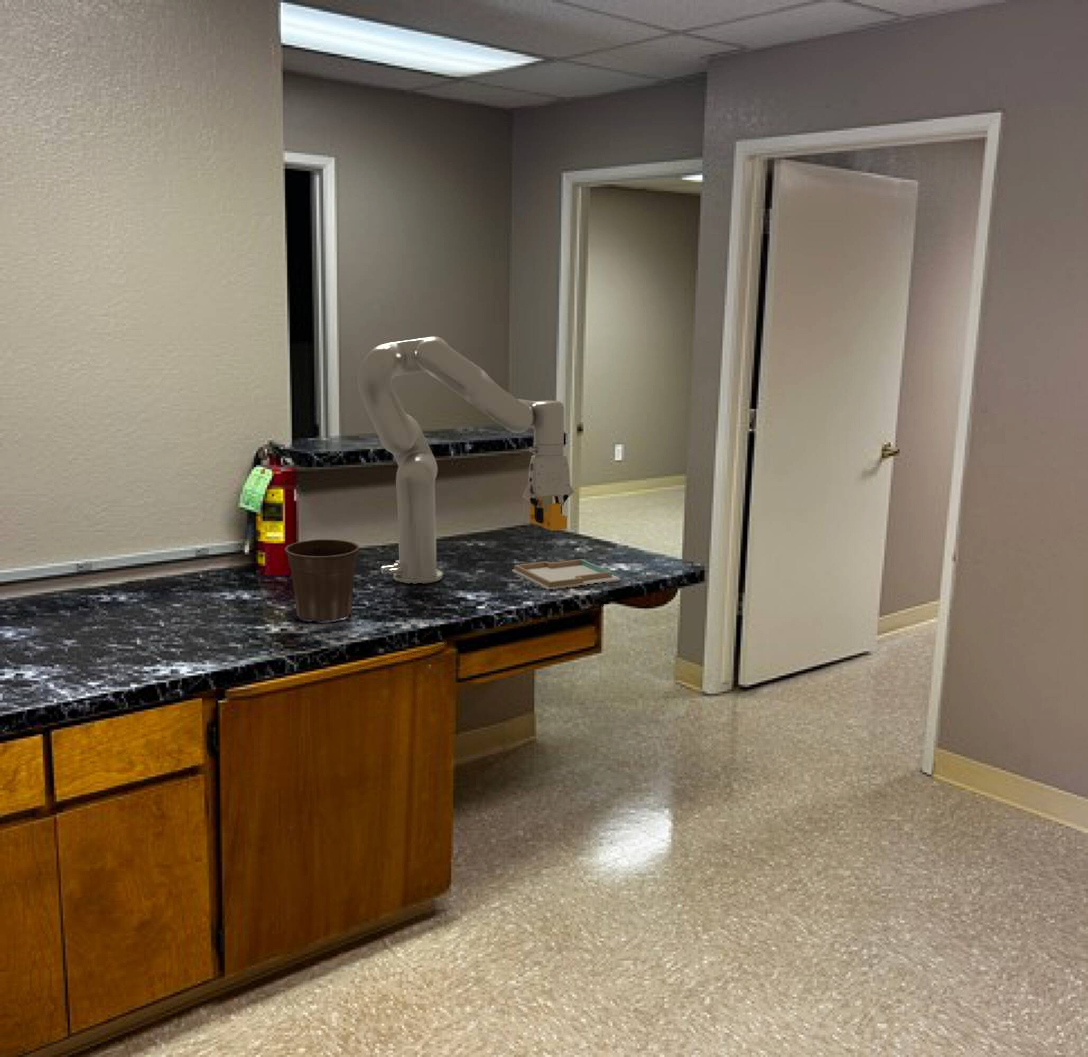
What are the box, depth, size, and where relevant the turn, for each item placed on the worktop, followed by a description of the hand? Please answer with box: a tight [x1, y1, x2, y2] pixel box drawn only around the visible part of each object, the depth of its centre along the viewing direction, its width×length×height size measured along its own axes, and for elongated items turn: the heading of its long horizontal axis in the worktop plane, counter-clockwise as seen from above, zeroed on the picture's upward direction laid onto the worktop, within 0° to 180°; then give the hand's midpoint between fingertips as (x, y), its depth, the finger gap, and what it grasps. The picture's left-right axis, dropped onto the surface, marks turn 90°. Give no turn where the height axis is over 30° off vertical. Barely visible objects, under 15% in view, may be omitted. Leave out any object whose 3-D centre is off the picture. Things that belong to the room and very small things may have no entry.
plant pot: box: [284, 538, 360, 622], centre depth 242 cm, size 16×16×16 cm
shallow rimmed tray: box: [511, 558, 621, 591], centre depth 280 cm, size 21×20×2 cm
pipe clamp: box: [529, 496, 568, 532], centre depth 274 cm, size 12×4×6 cm, turn 28°
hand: (548, 520), depth 274 cm, fingers closed on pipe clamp, 4 cm apart
